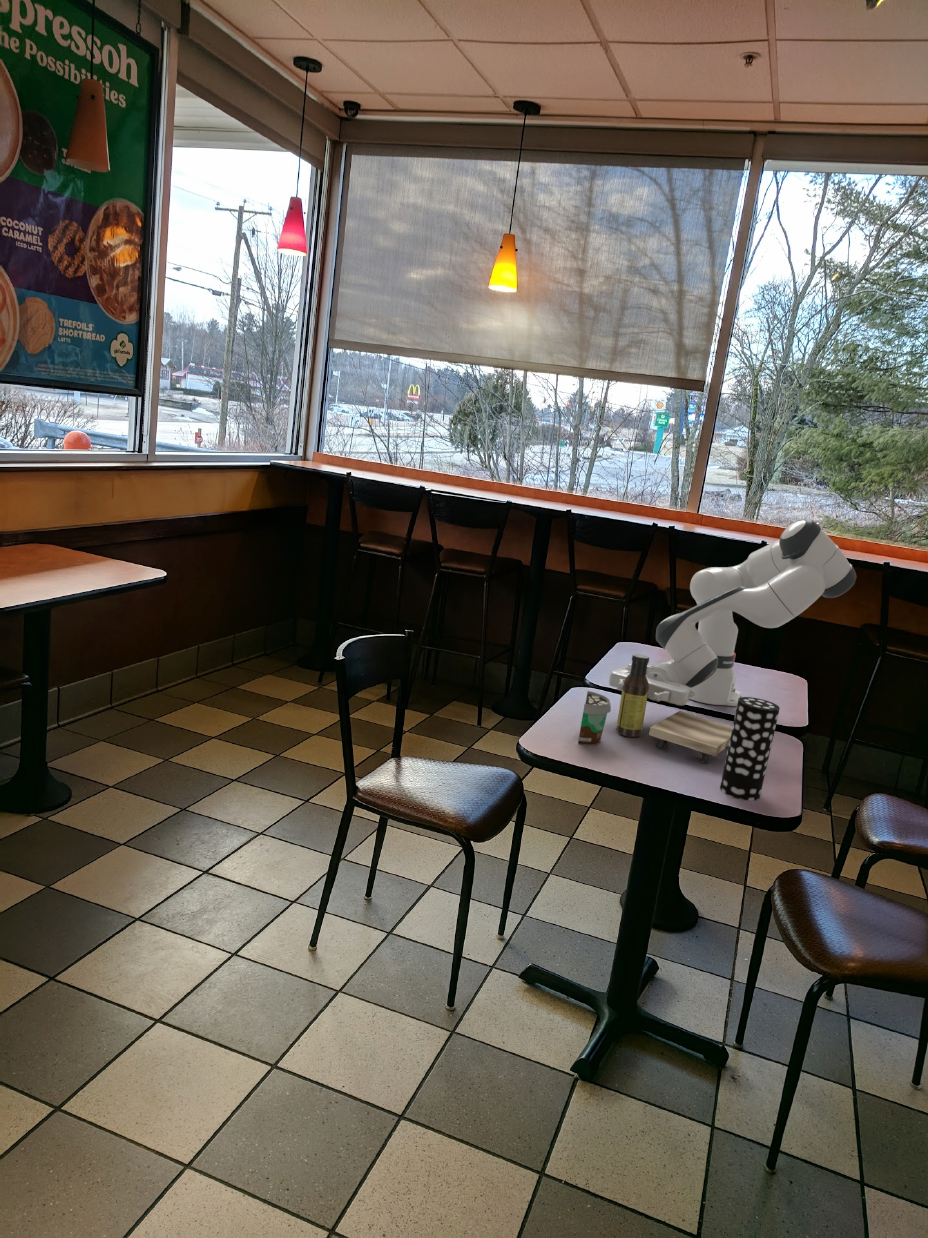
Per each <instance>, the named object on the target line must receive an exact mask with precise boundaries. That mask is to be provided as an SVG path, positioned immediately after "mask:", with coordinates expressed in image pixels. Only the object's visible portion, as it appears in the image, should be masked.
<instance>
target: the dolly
mask: <svg viewBox="0 0 928 1238" xmlns="http://www.w3.org/2000/svg"><path fill="white" fill-rule="evenodd" d="M732 728H733V725H730V724H727V723H726V724H725V723H723V722H720V721H715V720H713V719H710V718H706V717H703V716H699V715H695V714H692V713H689V712H685V711H682V710H679V711H677V712H674V713H673V714H671V715H669V716H667V717H666V718H664V719H662V720H661V721H659V722H657V723H655V724H653V725H652V726H650V727H649V733H648V735H649V736H651V737H653V738H656V743H655V744H656V745H655V747H656V748H660V749H661V750H662V749H664V748H665V747H666V745H667V742H670V743H671V744H676V745H680V746H682V747H684V748H685V747H686V748H688V749H692V750H694V751H697V752H701V757H700V761H701V762H702V763H704V764H709V763H710V761H711V758H712V756H714V757H715V756H717V755H718V754H720V753H721V752H722V751H724V750H725V749H728V747H729V742H730V737H731V732H732Z"/></svg>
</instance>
